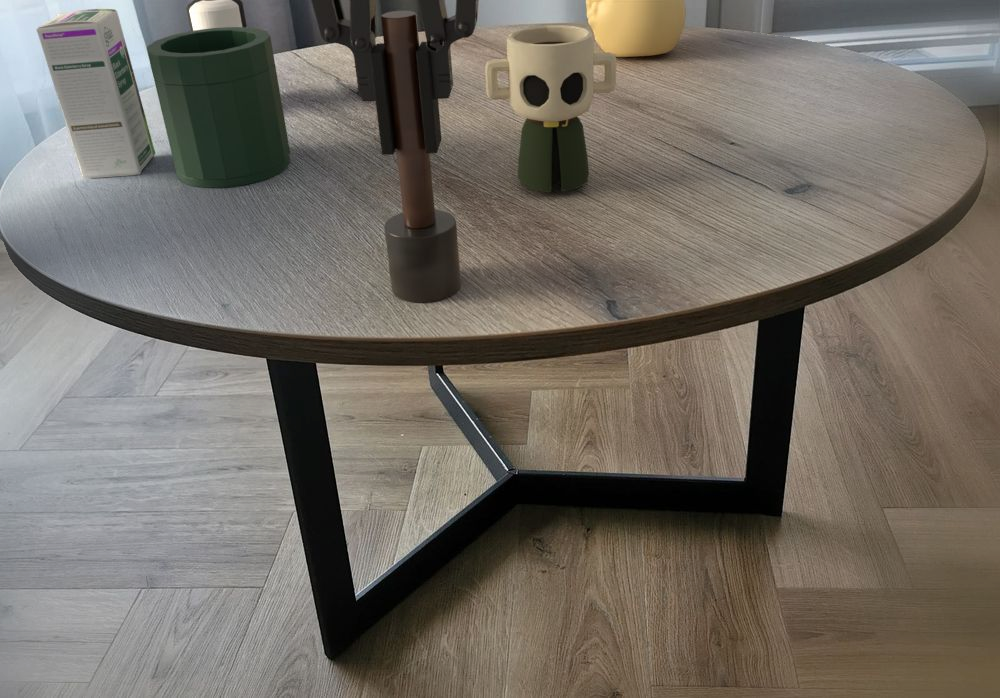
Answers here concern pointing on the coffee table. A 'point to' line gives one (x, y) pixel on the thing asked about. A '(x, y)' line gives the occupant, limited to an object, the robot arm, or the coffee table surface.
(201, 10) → the medicine bottle
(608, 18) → the sculpture
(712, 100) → the coffee table surface
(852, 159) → the coffee table surface
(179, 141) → the jar
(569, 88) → the character mug
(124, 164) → the syrup box
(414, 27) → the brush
